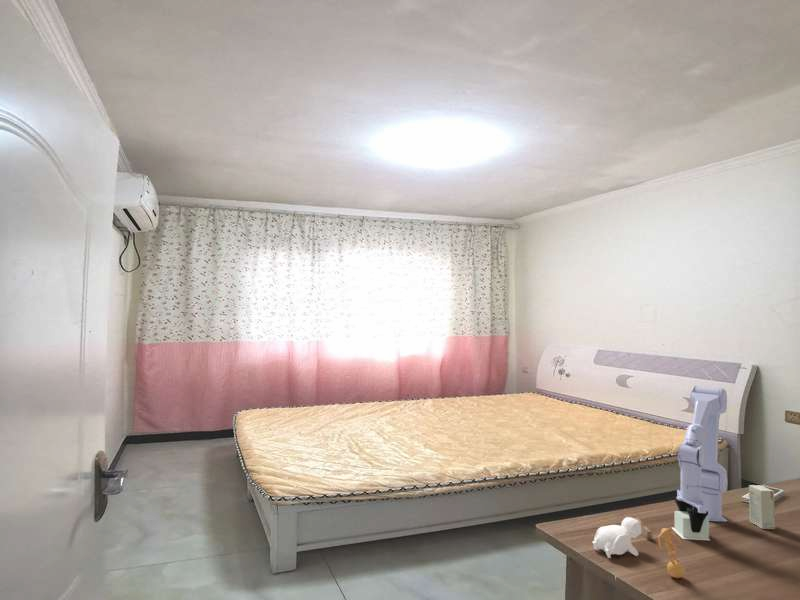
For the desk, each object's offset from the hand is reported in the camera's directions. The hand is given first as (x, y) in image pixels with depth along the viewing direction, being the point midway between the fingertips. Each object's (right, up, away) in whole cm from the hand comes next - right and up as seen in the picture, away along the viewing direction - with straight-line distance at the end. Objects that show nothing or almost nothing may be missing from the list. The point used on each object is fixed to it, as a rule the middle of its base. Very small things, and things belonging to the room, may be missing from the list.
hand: (690, 527), depth 157 cm
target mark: (0, -2, 0) cm, 2 cm away
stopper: (-15, -2, +1) cm, 15 cm away
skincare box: (+28, -3, +7) cm, 29 cm away
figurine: (-20, -1, -25) cm, 32 cm away
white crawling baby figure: (-28, -2, -12) cm, 30 cm away
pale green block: (0, -2, 0) cm, 2 cm away
